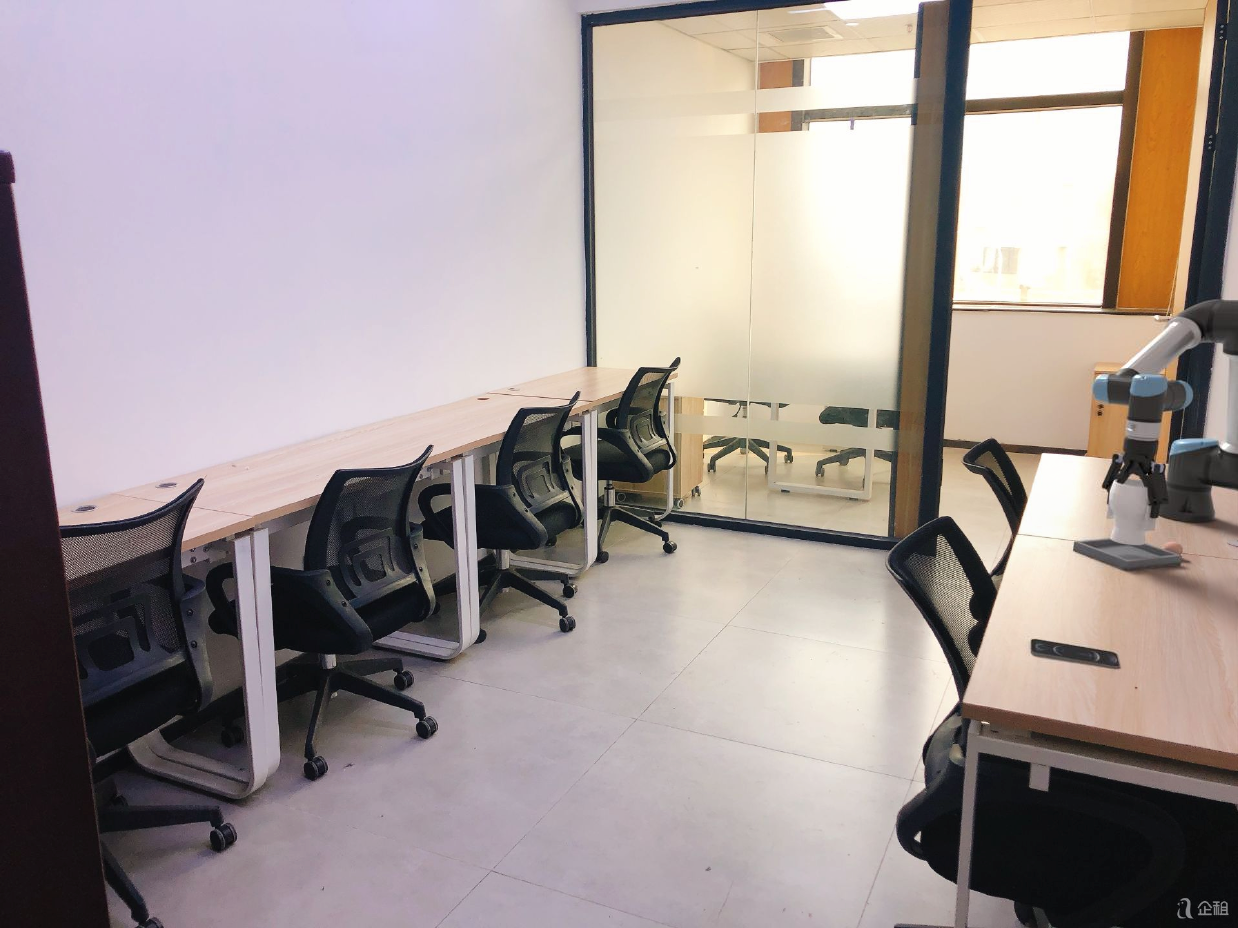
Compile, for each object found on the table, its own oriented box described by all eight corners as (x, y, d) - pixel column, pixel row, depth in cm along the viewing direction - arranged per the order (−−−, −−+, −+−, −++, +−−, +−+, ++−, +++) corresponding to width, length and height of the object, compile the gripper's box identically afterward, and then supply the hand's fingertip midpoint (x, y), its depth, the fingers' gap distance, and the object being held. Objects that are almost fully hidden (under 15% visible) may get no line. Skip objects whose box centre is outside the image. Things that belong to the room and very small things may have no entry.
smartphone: (1120, 667, 168) (1031, 651, 174) (1119, 671, 169) (1030, 656, 174) (1116, 652, 175) (1030, 637, 181) (1116, 656, 175) (1030, 641, 181)
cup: (1158, 548, 227) (1166, 489, 223) (1111, 545, 229) (1119, 486, 225) (1143, 536, 237) (1151, 479, 234) (1098, 533, 239) (1105, 477, 236)
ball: (1171, 553, 237) (1173, 539, 236) (1185, 558, 233) (1187, 543, 232) (1159, 555, 236) (1161, 540, 235) (1173, 560, 232) (1175, 544, 231)
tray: (1124, 545, 244) (1125, 536, 244) (1180, 564, 228) (1182, 555, 228) (1073, 550, 239) (1074, 541, 239) (1126, 570, 223) (1127, 561, 223)
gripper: (1092, 430, 237) (1082, 513, 241) (1170, 447, 215) (1157, 538, 220) (1115, 429, 239) (1105, 511, 244) (1194, 445, 218) (1181, 535, 222)
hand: (1129, 524), depth 232 cm, fingers closed on cup, 11 cm apart
